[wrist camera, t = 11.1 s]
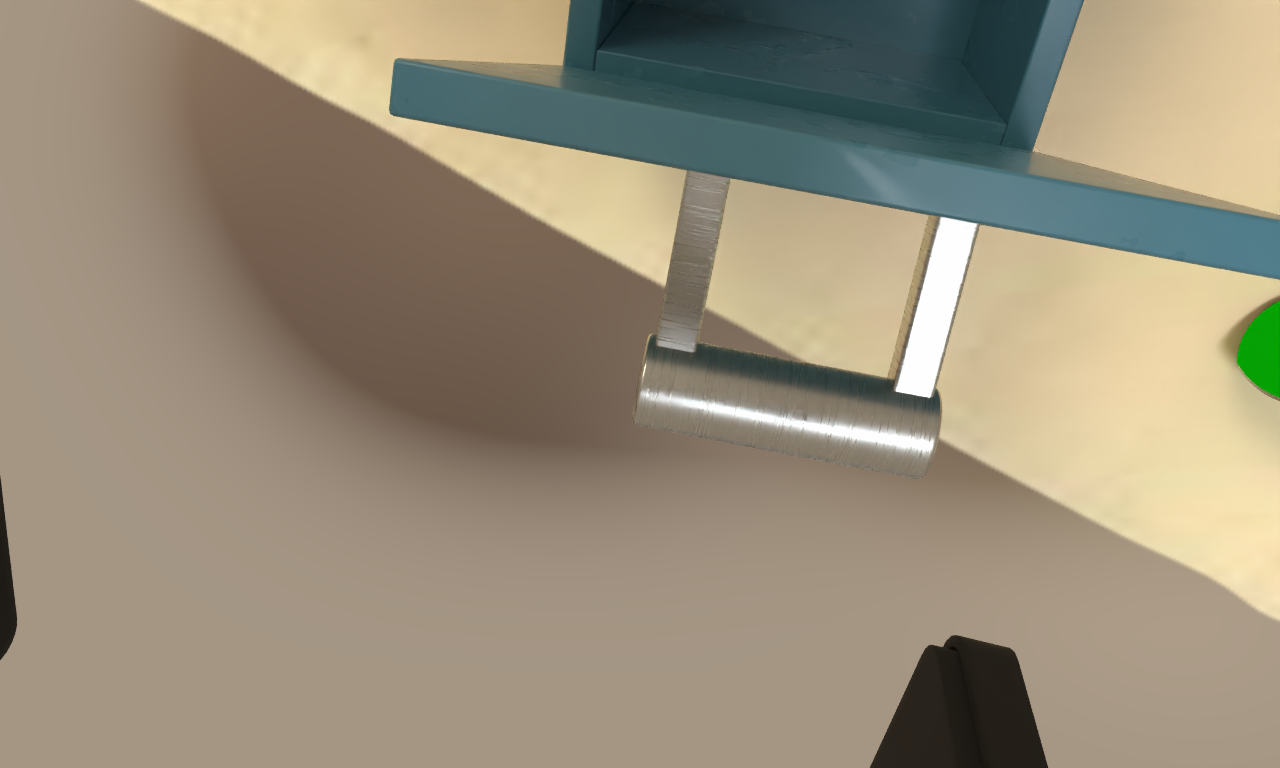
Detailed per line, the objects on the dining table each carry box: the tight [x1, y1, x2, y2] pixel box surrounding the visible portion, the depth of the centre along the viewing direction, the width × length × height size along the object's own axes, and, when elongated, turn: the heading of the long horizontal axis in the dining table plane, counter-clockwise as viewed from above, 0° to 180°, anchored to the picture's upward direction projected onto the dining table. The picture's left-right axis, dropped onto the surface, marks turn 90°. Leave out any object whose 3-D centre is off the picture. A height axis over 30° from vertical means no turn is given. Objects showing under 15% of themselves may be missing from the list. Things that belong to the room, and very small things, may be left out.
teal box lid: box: [389, 58, 1280, 479], centre depth 23 cm, size 15×13×5 cm
